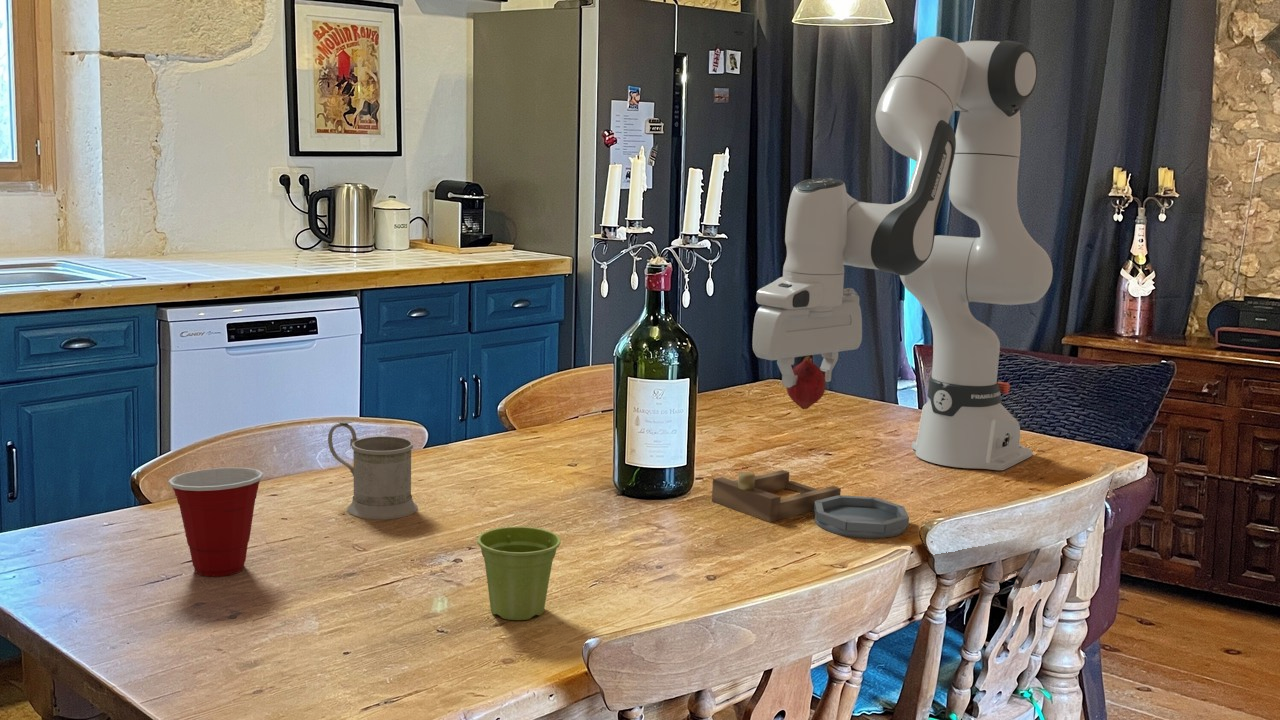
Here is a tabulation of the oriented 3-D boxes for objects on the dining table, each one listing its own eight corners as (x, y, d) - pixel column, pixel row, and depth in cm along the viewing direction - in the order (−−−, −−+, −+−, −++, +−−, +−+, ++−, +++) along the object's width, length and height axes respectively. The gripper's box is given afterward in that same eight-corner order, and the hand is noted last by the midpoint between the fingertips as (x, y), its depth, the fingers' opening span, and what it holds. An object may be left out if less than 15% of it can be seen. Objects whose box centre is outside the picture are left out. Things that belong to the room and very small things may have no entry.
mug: (430, 505, 177) (431, 425, 175) (389, 524, 168) (390, 439, 166) (350, 490, 183) (350, 412, 180) (306, 506, 174) (306, 425, 172)
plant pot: (478, 595, 144) (479, 525, 142) (557, 595, 145) (559, 526, 143) (474, 627, 135) (475, 552, 133) (559, 627, 135) (561, 553, 134)
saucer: (853, 505, 185) (854, 491, 185) (924, 527, 176) (925, 513, 175) (796, 520, 177) (797, 505, 176) (866, 544, 167) (868, 529, 167)
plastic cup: (241, 547, 156) (239, 457, 154) (280, 571, 149) (279, 476, 146) (157, 564, 149) (153, 470, 147) (193, 591, 141) (190, 492, 139)
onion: (822, 415, 177) (826, 361, 176) (783, 411, 178) (786, 358, 177) (825, 406, 183) (828, 354, 181) (786, 403, 184) (790, 351, 182)
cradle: (784, 484, 195) (786, 451, 194) (842, 503, 186) (844, 468, 185) (710, 501, 184) (712, 466, 183) (768, 522, 175) (771, 485, 174)
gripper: (843, 284, 186) (837, 373, 189) (747, 292, 173) (742, 387, 176) (875, 289, 181) (868, 380, 184) (780, 298, 168) (774, 395, 171)
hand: (806, 384), depth 180 cm, fingers closed on onion, 6 cm apart
